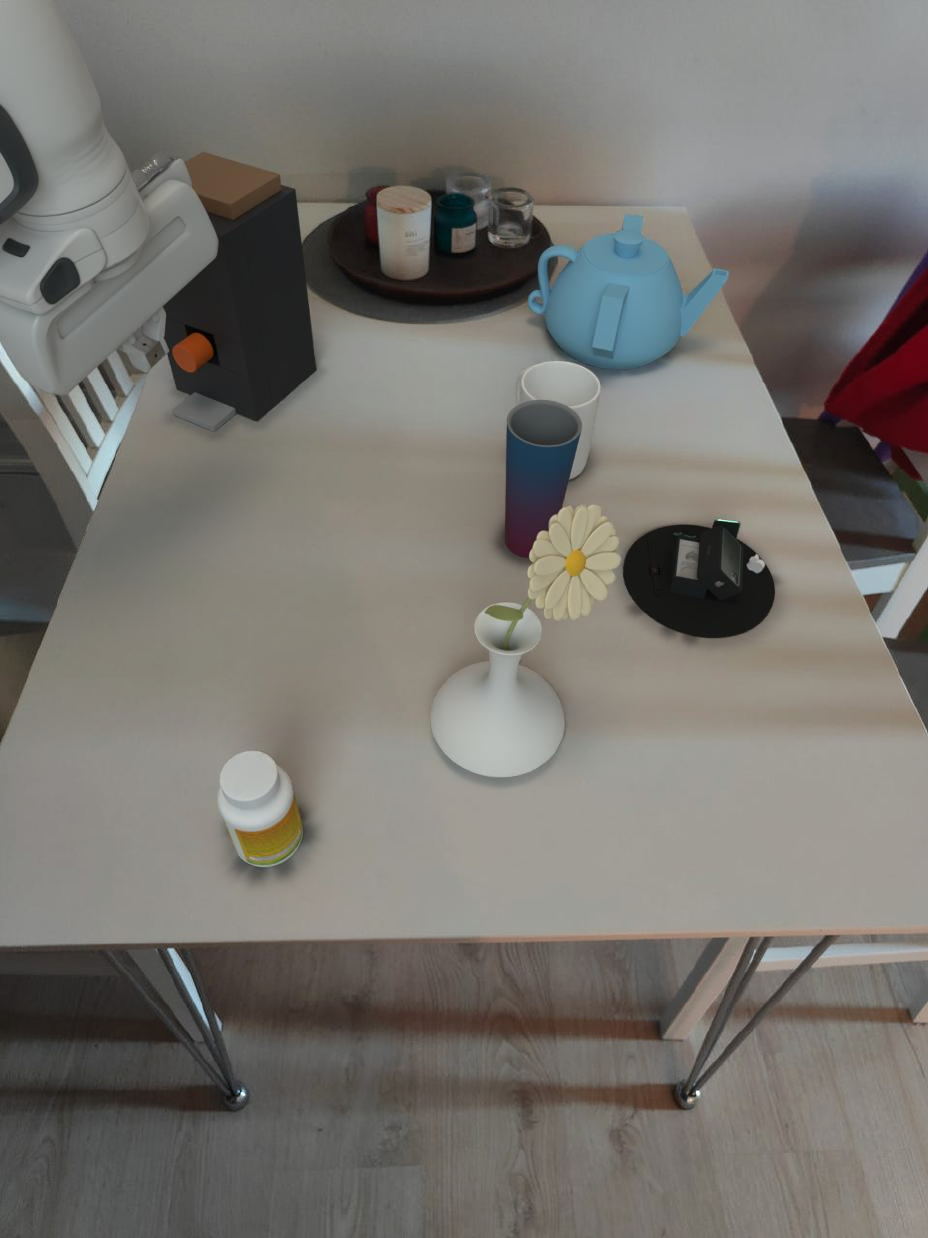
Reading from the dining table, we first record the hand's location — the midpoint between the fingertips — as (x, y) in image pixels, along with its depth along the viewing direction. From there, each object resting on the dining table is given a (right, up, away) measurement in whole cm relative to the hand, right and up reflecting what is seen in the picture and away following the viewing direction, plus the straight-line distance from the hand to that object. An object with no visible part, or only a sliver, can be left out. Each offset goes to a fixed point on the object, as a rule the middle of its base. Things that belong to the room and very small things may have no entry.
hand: (152, 360), depth 74 cm
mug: (+36, -3, +24) cm, 43 cm away
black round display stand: (+51, -19, +12) cm, 55 cm away
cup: (+34, -14, +14) cm, 39 cm away
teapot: (+47, +15, +39) cm, 63 cm away
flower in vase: (+31, -32, 0) cm, 44 cm away
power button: (-3, +6, +21) cm, 22 cm away
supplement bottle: (+12, -40, -7) cm, 42 cm away
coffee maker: (0, +5, +29) cm, 29 cm away
